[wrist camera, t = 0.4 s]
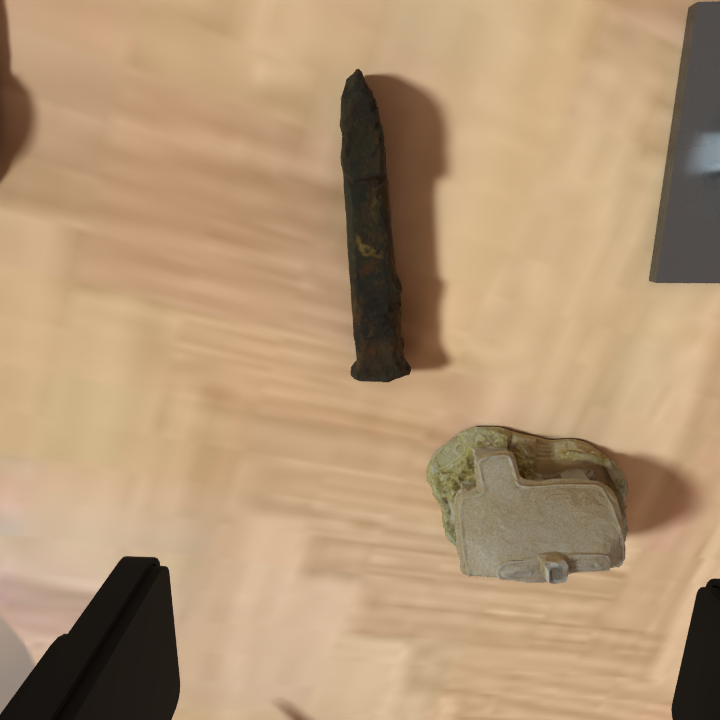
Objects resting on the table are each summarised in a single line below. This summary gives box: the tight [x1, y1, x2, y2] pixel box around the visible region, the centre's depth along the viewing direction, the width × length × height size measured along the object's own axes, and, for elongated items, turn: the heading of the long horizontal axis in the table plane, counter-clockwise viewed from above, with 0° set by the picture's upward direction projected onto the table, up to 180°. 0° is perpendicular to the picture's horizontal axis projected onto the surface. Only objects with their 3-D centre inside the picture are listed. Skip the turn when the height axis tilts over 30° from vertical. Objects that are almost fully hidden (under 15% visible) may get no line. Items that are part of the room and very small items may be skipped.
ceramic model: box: [427, 427, 628, 584], centre depth 38 cm, size 14×11×10 cm
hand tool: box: [340, 69, 411, 382], centre depth 36 cm, size 19×4×5 cm, turn 2°
